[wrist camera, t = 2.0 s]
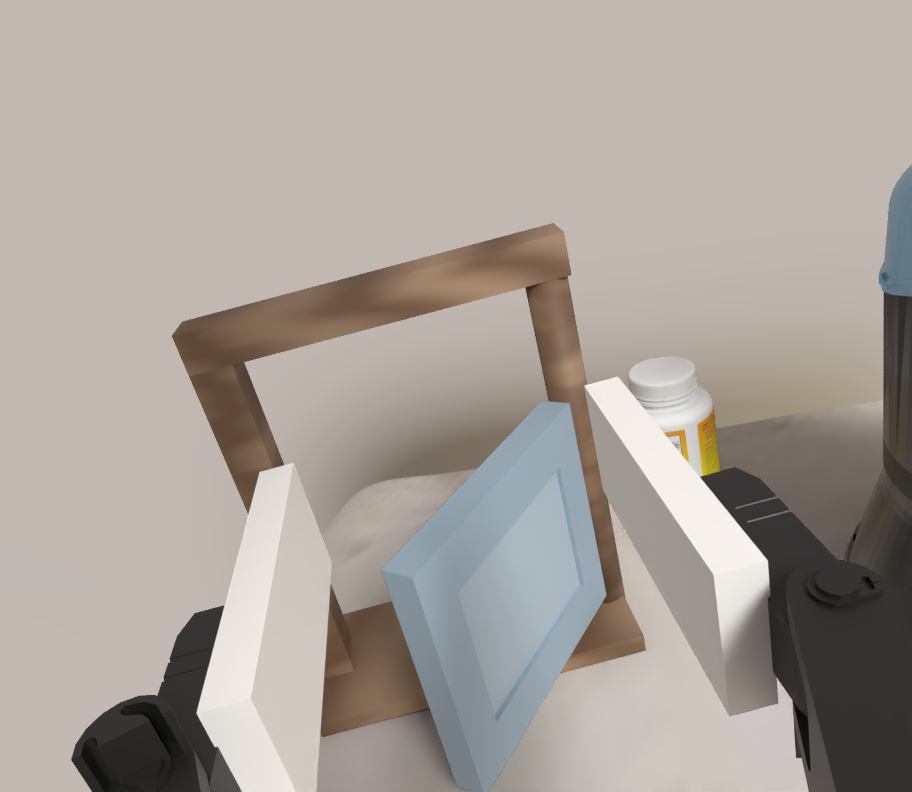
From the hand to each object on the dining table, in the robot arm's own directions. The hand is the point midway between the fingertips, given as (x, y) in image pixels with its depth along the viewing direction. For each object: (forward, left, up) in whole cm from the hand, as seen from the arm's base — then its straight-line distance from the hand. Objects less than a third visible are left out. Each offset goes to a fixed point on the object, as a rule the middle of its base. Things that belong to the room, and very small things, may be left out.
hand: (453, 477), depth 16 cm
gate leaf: (-1, -13, -20) cm, 24 cm away
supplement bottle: (-13, -26, -22) cm, 37 cm away
